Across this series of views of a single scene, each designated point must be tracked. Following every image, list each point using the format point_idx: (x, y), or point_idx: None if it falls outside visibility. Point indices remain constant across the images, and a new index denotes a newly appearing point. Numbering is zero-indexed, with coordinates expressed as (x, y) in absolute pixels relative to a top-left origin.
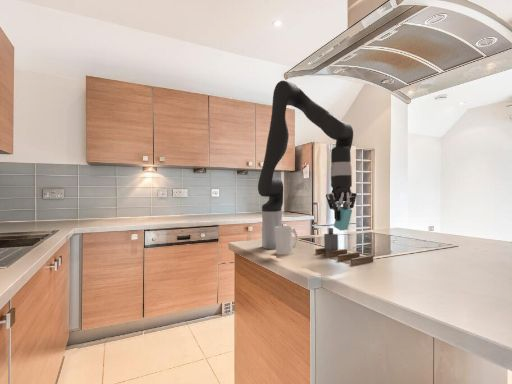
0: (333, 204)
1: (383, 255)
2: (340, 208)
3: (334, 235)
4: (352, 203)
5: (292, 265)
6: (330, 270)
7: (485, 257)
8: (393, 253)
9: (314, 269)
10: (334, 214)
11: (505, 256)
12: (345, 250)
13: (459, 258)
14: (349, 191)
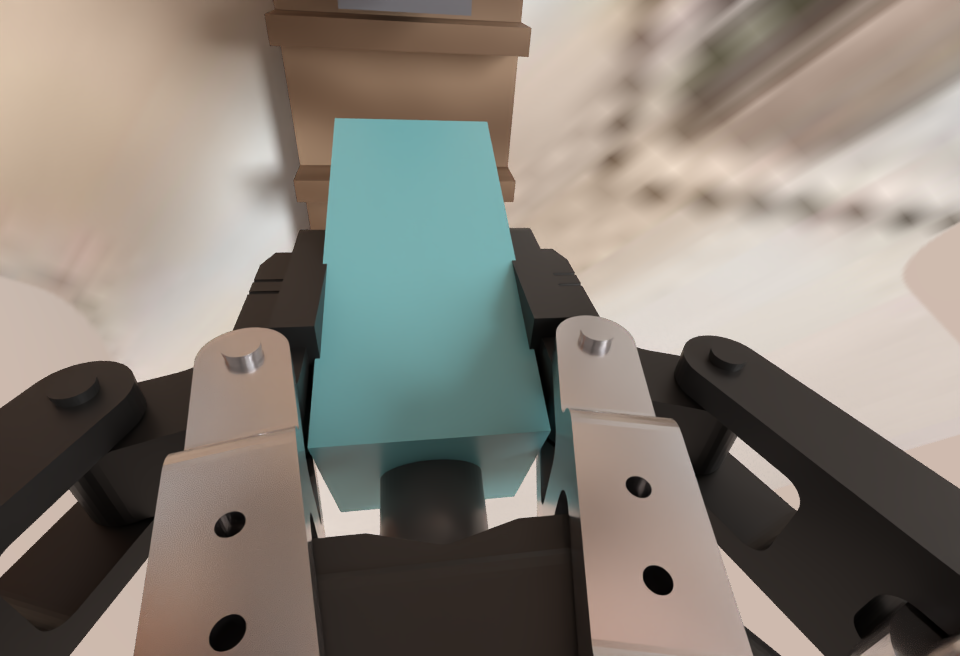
0: (35, 596)
1: (754, 161)
2: (322, 469)
3: (414, 11)
4: (713, 521)
5: None
6: (168, 239)
7: (942, 405)
8: (852, 160)
9: (55, 169)
10: (245, 304)
11: None
12: (505, 53)
13: (878, 377)
14: None
